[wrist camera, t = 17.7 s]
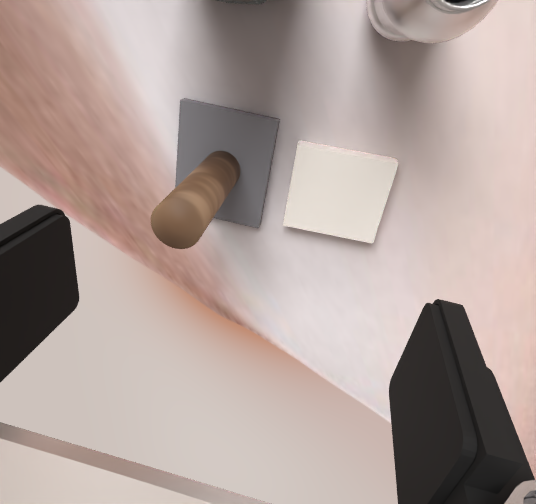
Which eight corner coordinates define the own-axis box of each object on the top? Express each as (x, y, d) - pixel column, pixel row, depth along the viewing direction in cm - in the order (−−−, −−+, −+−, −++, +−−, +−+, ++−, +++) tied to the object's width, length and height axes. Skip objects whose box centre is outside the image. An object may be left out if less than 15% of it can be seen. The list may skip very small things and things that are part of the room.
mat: (279, 118, 39) (277, 121, 38) (260, 223, 46) (258, 228, 45) (184, 98, 40) (180, 100, 39) (177, 204, 46) (174, 208, 45)
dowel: (242, 155, 41) (203, 208, 29) (237, 190, 43) (199, 253, 31) (205, 146, 41) (151, 196, 29) (202, 182, 43) (150, 242, 31)
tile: (398, 163, 38) (297, 144, 39) (372, 243, 43) (282, 225, 43) (395, 157, 40) (299, 139, 41) (371, 234, 45) (285, 216, 45)
